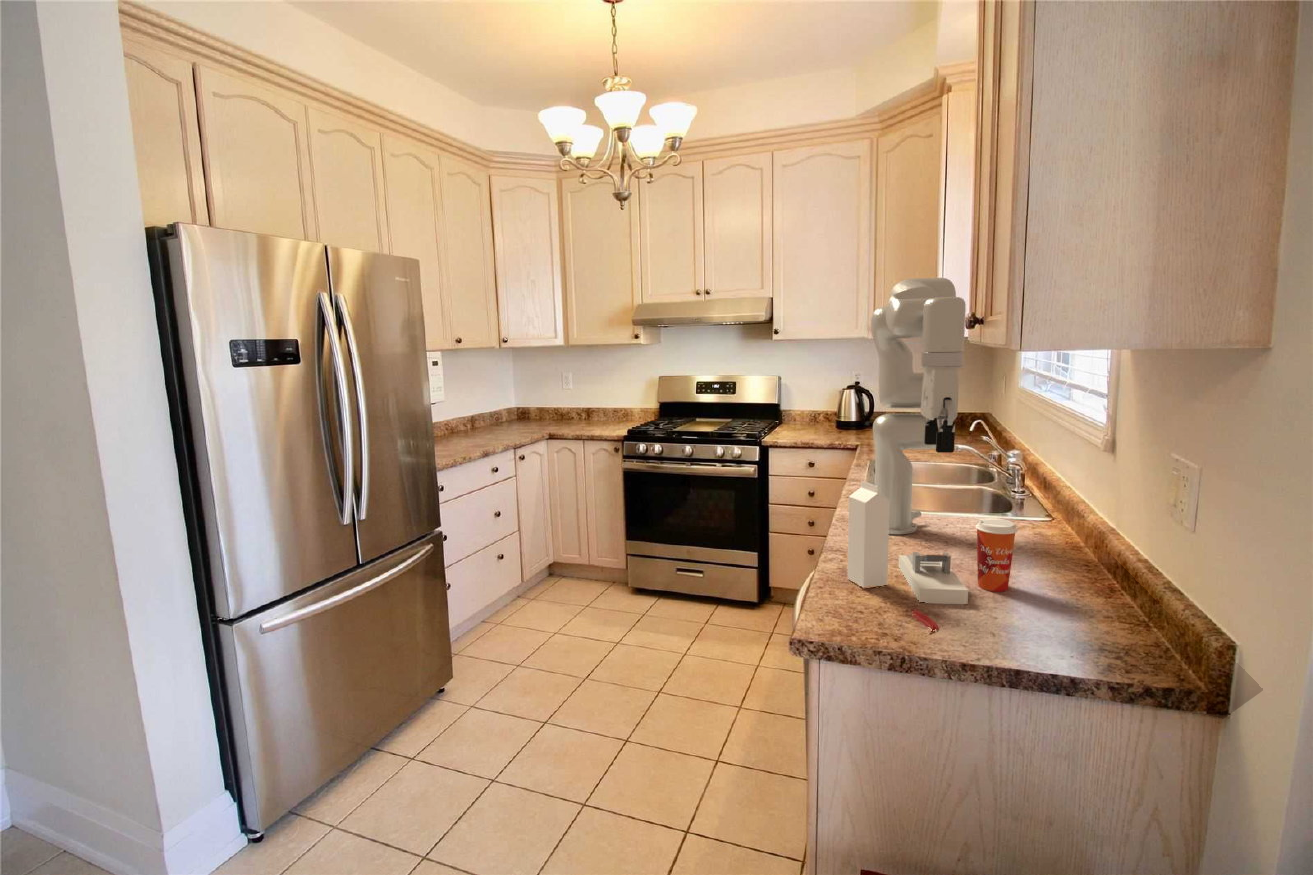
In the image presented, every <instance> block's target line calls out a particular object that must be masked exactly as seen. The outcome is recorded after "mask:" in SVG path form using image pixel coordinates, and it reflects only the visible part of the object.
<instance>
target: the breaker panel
mask: <svg viewBox="0 0 1313 875" xmlns="http://www.w3.org/2000/svg"><path fill="white" fill-rule="evenodd" d="M941 555H947V560H948V562H920V558H921V556H922V555H921V554H920V553H919V552H918V551H913V552H912V555H911V554H906V555H905V554H904V555H901V554H899V555H898V565H897V566H898V567H899V568H900V569H899V568H898V569H899V571H900V570H901V571H900V573H901V572H902V573H903V574H902V573H901V574H902V576H903V575H904V576H903V578H904V577H905V578H906V579H905V578H904V579H905V581H906V580H907V581H906V582H908V583H909V584H908V583H907V584H908V586H909V585H910V586H911V588H912V589H911V588H910V589H911V591H912V590H913V591H914V593H913V594H914V596H915V595H916V596H915V598H916V597H917V598H916V599H917V601H918V600H919V601H918V603H919V602H925V603H924V604H938V605H940V604H941V605H942V604H943V605H964V604H969V603H968V600H969V589H968V588H967V587H966V585H965V584H964V583H963V582H962V581H961V579H960V578H959V577H958V576H957V574H955V572H954V571H953V569H952V568H951V562H952V561H951V560H952V559H951V558H952V556H951V555H950V553H949V552H942V554H941ZM910 586H909V587H910ZM913 591H912V592H913Z"/></svg>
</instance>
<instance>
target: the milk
mask: <svg viewBox="0 0 1313 875" xmlns="http://www.w3.org/2000/svg"><path fill="white" fill-rule="evenodd" d="M889 508H890V500H889V499H887V498H886V497H884V496H882V495H880V494H879V493H878V486H876V485H875V484H872V483H870V482H868V481H863V480H861V481H860V487H859V488H858V489H857V490H855V491H854V492H853V493H851V494H850V495H849V496H848V530H847V532H848V533H847V538H848V539H847V573H846V574H847V578H848V579H850V580H851V581H853V582H855V583H857V584H858V585H859V586H862V587H868V586H880V585H886V584H887V585H888V576H889V575H888V574H889V573H888V571H889V570H888V569H889V566H888V564H889V542H890V541H889V537H890V536H889V535H890V534H889ZM847 578H846V579H847ZM859 586H858V587H859Z"/></svg>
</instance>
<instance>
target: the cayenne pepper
mask: <svg viewBox="0 0 1313 875" xmlns="http://www.w3.org/2000/svg"><path fill="white" fill-rule="evenodd" d="M913 610H914V611H913ZM913 610H912V611H913V613H911V614H915V615H913V617H914V618H916V619H917V620H918V621H920V622H921V623H923V624H924V625H925V626H926V627H930V628H931V629H932V631H929V634H930V633H931V632H933V630H935V629H936V630H938V631H939V625H938V624H937V623H936V622H935V621H933V620H932V619H931V618H930V617H929V615H926V614H924V613H922V612H920V611H919V610H918V609H916V608H914V607H913ZM913 617H912V618H913ZM914 618H913V619H914ZM917 620H916V621H917ZM918 621H917V622H918ZM920 622H919V623H920ZM921 623H920V624H921ZM923 624H922V625H923ZM924 625H923V626H924ZM925 626H924V627H925ZM933 633H934V632H933ZM931 634H932V633H931Z"/></svg>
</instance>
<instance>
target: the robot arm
mask: <svg viewBox="0 0 1313 875" xmlns="http://www.w3.org/2000/svg"><path fill="white" fill-rule="evenodd" d="M956 292H957V291H956V287H955V285H954V283H953V282H952V281H951V280H950V279H948V278H946V277H931V278H930V277H925V278H922V277H921V278H907V279H905V280H901V281H898V282H897V283H896V284H895V285H894V286H893V288H892V289H891V291H890V294H889V300H888V302H887V304H886V306H882V307H878V308H877V309H875V310H874V311H873V313H872V314H871V318H870V331H871V332H870V333H871V335H872V337H871V338H872V340H873V343H874V346H875V348H876V352H877V356H878V399H879V403H880V405H881V406H883V407H885V408H887V409H920V413H886V414H881V415H879V416H878V417H876V418H875V420H874V421H873V423H872V436H873V437H872V438H873V444H874V458H875V460H874V461H875V463H874V464H875V466H874V468H875V469H874V485H876V486H878V493H879V494H880V495H882V496H884V497H886V498H887V499H889V500H890V508H889V535H909V534H913V533H916V531H917V528H918V525H917V524H916V523H914V522H913V520H915V519H917V518H921V517H922V512H921V511H920V510H914V511H913V510H912V501H913V500H912V494H913V493H912V492H913V464H912V462H911V460H910V459H909V458H908V456H907V455H905V453H904V452H903V451H905V450H934V449H935V452H936V453H940V454H941V453H944V454H947V453H949V454H952V453H954V452H955V435H956V425H955V424H956V421H955V419H956V418H957V417H958V412H959V381H960V380H959V370H963V369H964V351H965V350H964V349H965V332H966V331H965V330H966V312H967V310H966V306H967V304H966V301H965V299H964V298H963V297H960V296H957V293H956ZM902 339H922V341H921V344H922V345H921V363H920V365H921V370H924V372H914V369H913V368H914V366H913V363H914V362H913V360H914V356H913V352H912V351H911V349H910V348H909V346H908V345H907V344H906V343H905V341H903V340H902Z"/></svg>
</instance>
